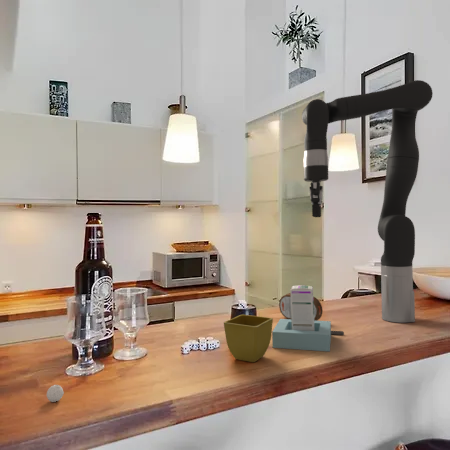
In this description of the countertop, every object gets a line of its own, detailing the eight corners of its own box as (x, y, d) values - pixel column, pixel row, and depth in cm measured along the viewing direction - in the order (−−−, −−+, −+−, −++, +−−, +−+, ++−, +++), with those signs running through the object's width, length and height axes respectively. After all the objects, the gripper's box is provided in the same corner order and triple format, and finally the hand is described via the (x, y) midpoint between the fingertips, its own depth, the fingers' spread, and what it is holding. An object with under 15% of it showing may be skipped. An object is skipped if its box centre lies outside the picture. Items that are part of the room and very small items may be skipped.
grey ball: (45, 400, 73) (45, 384, 73) (62, 396, 74) (62, 380, 74) (48, 406, 70) (48, 390, 70) (66, 402, 72) (66, 385, 72)
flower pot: (257, 367, 87) (256, 326, 87) (223, 360, 92) (222, 321, 92) (274, 355, 95) (273, 317, 95) (242, 350, 99) (241, 314, 99)
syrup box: (314, 345, 102) (313, 288, 102) (291, 344, 103) (290, 288, 103) (314, 339, 108) (313, 285, 107) (292, 338, 109) (291, 284, 109)
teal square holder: (331, 335, 110) (330, 321, 110) (329, 351, 97) (329, 335, 97) (280, 332, 114) (280, 318, 114) (272, 347, 101) (272, 331, 101)
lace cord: (344, 334, 111) (344, 330, 111) (344, 335, 110) (344, 331, 110) (276, 330, 117) (276, 327, 117) (275, 331, 116) (275, 328, 116)
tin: (323, 323, 124) (322, 296, 124) (318, 325, 122) (317, 297, 122) (283, 316, 135) (282, 291, 135) (277, 318, 132) (277, 292, 132)
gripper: (327, 161, 118) (328, 216, 118) (328, 167, 132) (329, 217, 132) (301, 163, 120) (302, 217, 120) (305, 169, 134) (306, 217, 134)
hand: (316, 217), depth 126 cm, fingers open, 8 cm apart
